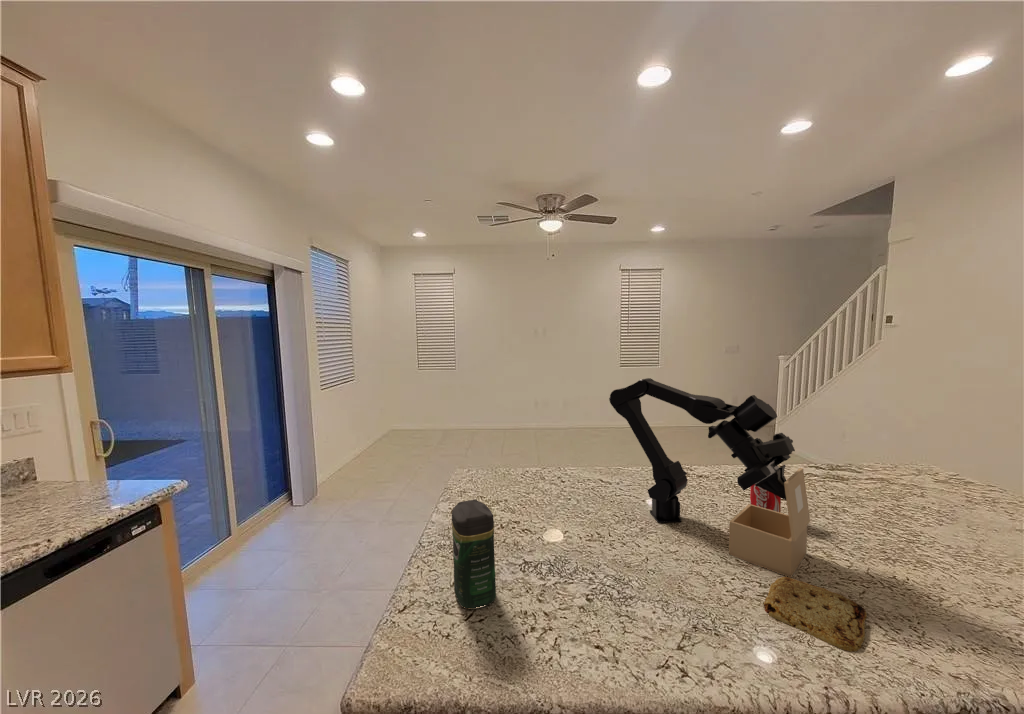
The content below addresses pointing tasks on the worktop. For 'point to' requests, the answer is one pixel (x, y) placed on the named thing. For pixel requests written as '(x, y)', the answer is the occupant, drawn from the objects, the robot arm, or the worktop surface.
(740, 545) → the carton
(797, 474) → the lid flap
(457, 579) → the coffee jar
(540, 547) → the worktop surface
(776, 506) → the soda can
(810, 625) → the pastry
